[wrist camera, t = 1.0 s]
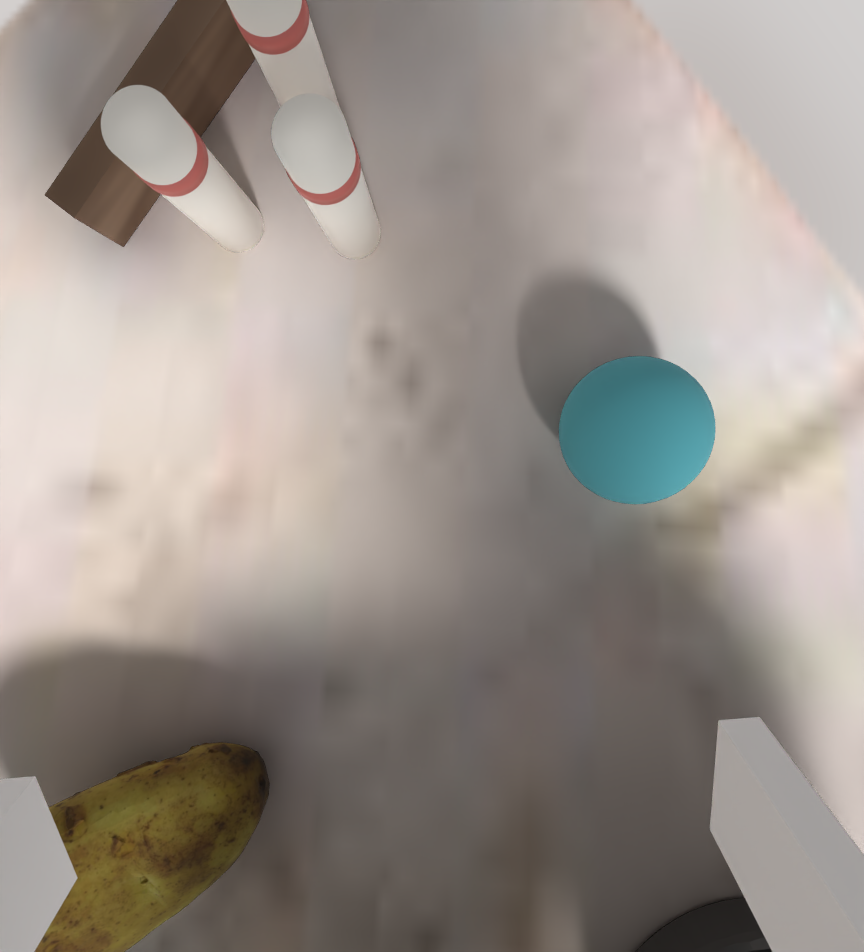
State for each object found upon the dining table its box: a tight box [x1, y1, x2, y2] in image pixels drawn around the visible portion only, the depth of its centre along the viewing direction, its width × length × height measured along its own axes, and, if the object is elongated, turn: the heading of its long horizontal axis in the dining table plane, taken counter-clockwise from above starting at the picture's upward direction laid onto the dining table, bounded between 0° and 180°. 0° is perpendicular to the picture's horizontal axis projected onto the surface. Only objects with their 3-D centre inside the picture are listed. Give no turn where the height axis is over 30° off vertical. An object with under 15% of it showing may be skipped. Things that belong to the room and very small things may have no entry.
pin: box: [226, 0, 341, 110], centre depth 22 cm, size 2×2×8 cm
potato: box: [34, 742, 269, 952], centre depth 24 cm, size 8×13×8 cm, turn 98°
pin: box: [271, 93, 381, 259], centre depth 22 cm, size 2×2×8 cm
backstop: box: [45, 0, 255, 247], centre depth 24 cm, size 2×14×4 cm, turn 143°
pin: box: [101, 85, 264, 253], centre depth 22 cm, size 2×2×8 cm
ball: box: [559, 356, 715, 504], centre depth 24 cm, size 6×6×6 cm
